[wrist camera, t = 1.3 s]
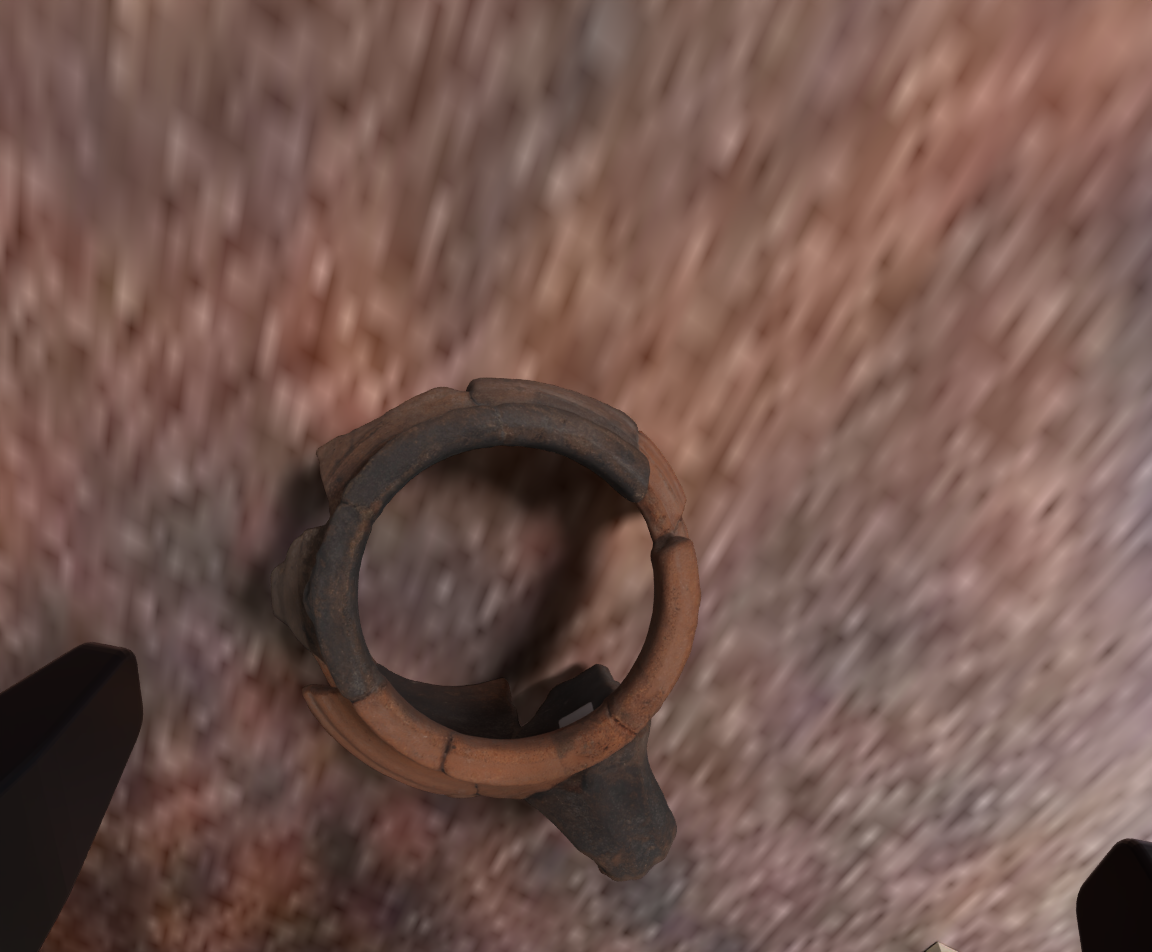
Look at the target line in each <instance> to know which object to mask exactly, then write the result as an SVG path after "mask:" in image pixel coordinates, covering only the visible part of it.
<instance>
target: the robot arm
mask: <svg viewBox="0 0 1152 952" xmlns="http://www.w3.org/2000/svg"><path fill="white" fill-rule="evenodd" d="M142 720H143V705H142V697H141V690H140V682H139V674H138V666H137V661H136V657H135V655H134V654H133V652H132V651H131V650H129V649H126V648H122V647H117V646H111V645H106V644H101V643H95V642H88V643H84V644H81V645H79V646H77V647H75V648H73V649H72V650H70V651H68V652H67V653H65V654H63V655H62V656H60V657H59V658H57V659H55V660H54V661H52V662H50V663H49V664H47V665H46V666H44V667H42V668H41V669H39V670H37V671H36V672H34V673H33V674H31V675H29V676H28V677H26V678H24V679H23V680H21V681H19V682H18V683H16V684H15V685H13V686H11V687H10V688H8V689H6V690H5V691H3V692H2V693H0V952H38V951H39V950H40V948H41V946H42V944H43V943H44V941H45V939H46V937H47V935H48V934H49V932H50V930H51V928H52V927H53V925H54V923H55V921H56V919H57V917H58V915H59V914H60V912H61V910H62V908H63V906H64V904H65V902H66V900H67V898H68V897H69V894H70V892H71V890H72V888H73V886H74V883H75V881H76V879H77V877H78V875H79V873H80V870H81V868H82V866H83V863H84V861H85V859H86V856H87V854H88V852H89V849H90V847H91V845H92V842H93V840H94V838H95V836H96V833H97V831H98V829H99V826H100V824H101V822H102V819H103V817H104V815H105V812H106V810H107V808H108V805H109V803H110V801H111V798H112V796H113V794H114V791H115V789H116V787H117V784H118V782H119V780H120V777H121V775H122V773H123V770H124V768H125V766H126V764H127V761H128V759H129V757H130V754H131V752H132V750H133V747H134V745H135V743H136V740H137V738H138V735H139V732H140V729H141V725H142ZM1076 914H1077V922H1078V929H1079V936H1080V942H1081V949H1082V952H1152V842H1148V841H1142V840H1137V839H1123V840H1121V841H1119V842H1117V843H1116V844H1115V845H1114V846H1113V847H1112V849H1111V850H1110V851H1109V852H1108V853H1107V855H1106V856H1105V857H1104V858H1103V860H1102V861H1101V862H1100V863H1099V865H1098V866H1097V867H1096V868H1095V870H1094V871H1093V872H1092V873H1091V874H1090V876H1089V877H1088V878H1087V879H1086V881H1085V882H1084V883H1083V885H1082V886H1081V888H1080V891H1079V893H1078V897H1077V902H1076Z"/></svg>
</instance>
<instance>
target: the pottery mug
mask: <svg viewBox="0 0 1152 952" xmlns="http://www.w3.org/2000/svg"><path fill="white" fill-rule="evenodd" d="M499 445H505V446H523V447H529V448H536V449H542V450H546V451H550V452H555V453H557V454H560V455H563V456H566V457H568V458H570V459H572V460H574V461H576V462H578V463H579V464H581V465H584V466H585V467H587V468H589V469H590V470H591V471H593V472H595V473H596V474H597V475H599V476H600V477H601V478H603V479H604V480H605V481H606V482H607V483H608V484H609V485H610V486H611V487H613V488H614V489H615V490H616V491H617V492H618V493H619V494H620V495H622V496H623V497H624V498H626V499H627V500H629V501H631V502H635V503H636V505H637V507H638V508H639V510H640V511H641V513H642V515H643V517H644V519H645V521H646V523H647V526H648V529H649V532H650V535H651V538H652V541H653V548H652V550H651V562H652V567H653V573H654V604H653V613H652V618H651V622H650V626H649V630H648V634H647V637H646V640H645V643H644V645H643V647H642V650H641V652H640V654H639V656H638V658H637V660H636V661H635V663H634V665H633V667H632V668H631V670H630V672H629V673H628V675H627V676H626V678H625V679H624V680H623V682H622V683H621V684H620V683H619V682H617V681H615V680H613V677H612V675H611V673H610V671H609V669H608V668H607V667H605V666H603V665H600V664H595V665H594V666H592V667H590V668H589V669H587V670H586V671H584V672H583V673H581V674H580V675H578V676H577V677H575V678H573V679H571V680H569V681H566V682H563V683H561V684H559V685H557V686H555V687H554V688H553V689H552V690H551V691H550V693H549V695H548V697H547V699H546V700H545V702H544V703H543V704H542V706H541V707H540V708H539V710H538V711H537V713H536V715H535V716H534V717H533V719H532V720H531V721H529V722H528V723H527V724H526V725H524V726H523V727H520V724H519V721H518V715H517V712H516V709H515V707H514V706H513V704H512V701H511V692H510V688H509V684H508V682H507V680H506V679H504V678H500V679H496V680H492V681H488V682H484V683H481V684H477V685H466V686H459V687H447V686H438V685H432V684H427V683H422V682H418V681H413V680H409V679H406V678H404V677H401V676H399V675H397V674H395V673H393V672H391V671H389V670H388V669H387V668H385V667H384V666H382V665H380V664H378V663H377V662H376V661H375V660H374V659H373V658H372V657H371V654H370V653H369V650H368V648H367V645H366V643H365V640H364V636H363V633H362V629H361V625H360V619H359V612H358V579H359V570H360V566H361V560H362V556H363V554H364V550H365V546H366V543H367V540H368V537H369V535H370V533H371V530H372V524H373V523H374V522H375V520H376V519H377V518H378V517H379V515H380V514H381V513H382V511H383V509H384V507H385V506H386V505H387V504H388V503H389V502H390V500H391V499H392V498H393V496H394V495H395V494H396V493H397V492H398V491H399V490H400V489H402V488H403V487H404V486H405V484H406V483H407V482H409V481H410V480H411V479H412V478H414V477H415V476H416V475H418V474H419V473H420V472H422V471H423V470H425V469H427V468H428V467H430V466H431V465H433V464H435V463H437V462H439V461H441V460H444V459H446V458H448V457H450V456H453V455H456V454H459V453H462V452H465V451H469V450H473V449H480V448H488V447H494V446H499ZM316 455H317V457H318V460H319V468H320V474H321V480H322V483H323V486H324V489H325V492H326V495H327V498H328V502H329V510H330V518H329V520H328V522H327V523H326V524H325V525H323V526H319V527H315V528H310V529H307V530H305V531H304V533H303V534H302V535H301V536H299V537H298V538H296V539H295V540H294V541H293V543H292V544H291V546H290V548H289V549H288V552H287V556H286V559H285V561H284V562H283V563H281V564H280V565H278V566H277V567H275V569H274V570H273V571H272V573H271V602H272V609H273V613H274V615H275V617H277V618H278V619H279V620H281V621H282V622H283V623H285V624H286V625H288V626H289V628H290V630H291V631H292V633H293V634H294V635H295V637H296V638H297V639H298V640H299V641H300V642H301V644H302V645H303V646H304V647H305V648H306V649H308V650H309V651H310V652H312V654H313V656H314V657H315V659H316V660H317V662H318V663H319V665H320V667H321V669H322V671H323V673H324V675H325V677H326V679H327V681H328V683H329V684H330V686H331V687H328V686H324V685H319V684H312V685H308V686H306V687H304V688H303V689H302V694H303V697H304V699H305V700H306V702H307V704H308V707H309V709H310V711H311V712H312V714H313V715H314V716H315V717H316V719H317V720H318V721H319V722H320V724H321V725H322V726H323V727H324V729H325V730H326V731H327V732H328V733H329V734H330V735H331V736H332V737H333V738H334V739H335V740H336V741H337V742H338V743H340V744H341V745H342V746H343V747H344V748H345V749H346V750H348V751H349V752H350V753H351V754H353V755H354V756H356V757H357V758H358V759H359V760H361V761H362V762H364V763H365V764H367V765H368V766H370V767H371V768H373V769H375V770H377V771H378V772H380V773H382V774H384V775H386V776H388V777H391V778H393V779H395V780H397V781H399V782H402V783H404V784H406V785H409V786H412V787H414V788H417V789H420V790H424V791H427V792H432V793H435V794H444V795H446V796H448V797H452V798H470V797H476V796H480V795H483V796H489V797H493V798H512V799H525V800H526V801H527V802H528V803H529V804H530V805H532V806H534V807H535V808H537V809H538V810H539V811H540V812H541V813H542V814H543V815H544V816H546V817H547V818H548V819H549V820H550V821H551V822H552V823H553V824H554V825H555V826H556V827H557V828H558V829H559V830H560V831H561V832H562V833H563V834H564V835H565V836H566V837H567V838H568V839H569V841H570V842H571V843H572V844H573V845H574V846H575V847H576V848H577V849H578V850H579V851H580V852H581V853H583V854H584V855H586V856H588V857H589V858H591V859H592V860H594V861H595V863H596V864H597V865H598V868H599V870H600V872H601V873H602V874H605V875H607V876H608V877H610V878H611V879H612V880H614V881H617V882H619V881H627V880H638V879H640V878H642V877H643V876H645V875H646V874H647V873H648V871H649V870H650V869H651V868H652V867H653V866H654V865H655V864H657V863H659V862H661V861H663V860H664V859H665V857H666V856H667V854H668V852H669V849H670V847H671V845H672V842H673V840H674V838H675V836H676V832H677V826H676V821H675V819H674V816H673V814H672V812H671V810H670V809H669V807H668V805H667V802H666V800H665V797H664V795H663V793H662V791H661V789H660V787H659V785H658V783H657V781H656V779H655V777H654V775H653V773H652V770H651V768H650V765H649V762H648V756H647V742H648V737H649V732H650V725H651V718H652V717H653V716H654V715H655V714H656V713H657V712H658V711H659V709H660V708H661V706H662V704H663V702H664V701H665V699H666V698H667V696H668V695H669V694H670V692H671V691H672V689H673V687H674V685H675V684H676V682H677V681H678V679H679V677H680V675H681V673H682V671H683V668H684V666H685V663H686V661H687V659H688V657H689V655H690V652H691V649H692V644H693V640H694V635H695V631H696V627H697V624H698V611H699V606H700V601H701V590H700V583H699V574H698V565H697V558H696V553H695V549H694V545H693V542H692V541H691V540H690V539H689V536H688V531H687V528H686V525H685V523H684V521H683V518H682V514H683V511H684V506H685V503H686V497H685V494H684V491H683V489H682V486H681V485H680V483H679V481H678V479H677V477H676V475H675V473H674V472H673V470H672V468H671V466H670V465H669V463H668V462H667V460H666V459H665V457H664V456H663V455H662V453H661V452H660V450H659V449H658V448H657V447H656V446H655V444H654V443H653V442H652V441H651V440H650V439H649V438H648V437H647V436H646V435H645V434H644V433H643V432H642V431H638V427H637V425H636V423H635V422H634V421H633V420H632V419H631V418H630V417H629V416H628V415H626V414H625V413H624V412H622V411H620V410H618V409H616V408H613V407H611V406H609V405H608V404H605V403H603V402H601V401H598V400H596V399H594V398H591V397H587V396H585V395H582V394H580V393H577V392H574V391H572V390H568V389H564V388H561V387H559V386H555V385H550V384H546V383H540V382H536V381H530V380H521V379H504V378H478V379H474V380H472V381H471V382H470V384H469V385H468V387H467V390H466V391H458V390H454V389H451V388H448V387H437V388H434V389H431V390H429V391H427V392H424V393H422V394H420V395H417V396H415V397H413V398H411V399H409V400H407V401H405V402H404V403H402V404H401V405H399V406H398V407H396V408H394V409H391V410H389V411H388V412H387V413H385V414H384V415H383V416H381V417H379V418H377V419H375V420H374V421H372V422H370V423H367V424H365V425H363V426H361V427H360V428H357V429H355V430H353V431H351V432H350V433H348V434H346V435H341V436H338V437H336V438H334V439H333V440H331V441H329V442H328V443H326V444H325V445H323V446H322V447H320V448H318V450H317V451H316Z"/></svg>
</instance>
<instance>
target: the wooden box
mask: <svg viewBox="0 0 1152 952" xmlns="http://www.w3.org/2000/svg"><path fill="white" fill-rule="evenodd" d="M926 952H957V951H955V950H953V949H951V948H949V947H947V946H945V945H943V944H941V943H939V942H937V943H936V944H935V945H933V946H932V947H931V948H930V949H928V950H927V951H926Z"/></svg>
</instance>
